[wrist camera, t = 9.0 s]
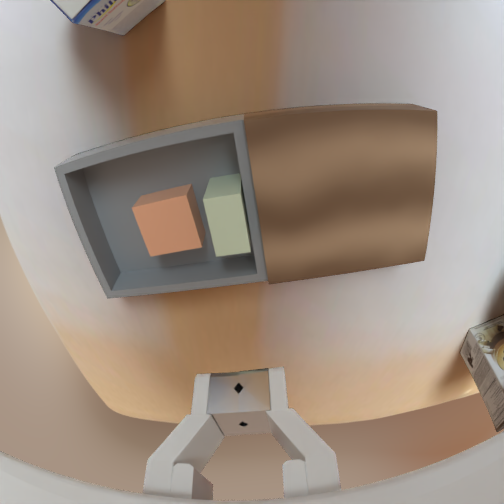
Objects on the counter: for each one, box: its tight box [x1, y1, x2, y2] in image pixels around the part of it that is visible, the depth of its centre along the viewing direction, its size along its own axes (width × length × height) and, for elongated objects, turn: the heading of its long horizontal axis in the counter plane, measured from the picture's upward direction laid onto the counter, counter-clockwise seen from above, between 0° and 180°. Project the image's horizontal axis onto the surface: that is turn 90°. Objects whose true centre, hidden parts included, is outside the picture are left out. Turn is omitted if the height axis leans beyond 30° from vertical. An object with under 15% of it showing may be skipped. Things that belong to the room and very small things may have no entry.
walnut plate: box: [244, 103, 437, 284], centre depth 23 cm, size 13×14×4 cm
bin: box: [54, 114, 268, 298], centre depth 24 cm, size 13×15×4 cm
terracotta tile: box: [132, 184, 206, 257], centre depth 24 cm, size 4×4×2 cm
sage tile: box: [203, 173, 251, 257], centre depth 23 cm, size 4×4×2 cm
